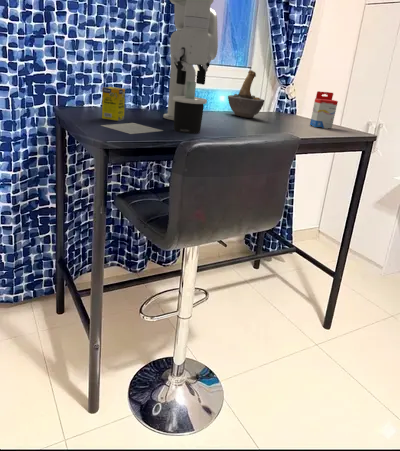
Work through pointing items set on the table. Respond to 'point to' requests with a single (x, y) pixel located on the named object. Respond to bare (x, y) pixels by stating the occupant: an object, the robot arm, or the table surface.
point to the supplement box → (113, 103)
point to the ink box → (323, 110)
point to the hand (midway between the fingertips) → (190, 84)
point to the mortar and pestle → (246, 99)
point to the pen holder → (188, 117)
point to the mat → (131, 128)
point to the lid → (190, 95)
